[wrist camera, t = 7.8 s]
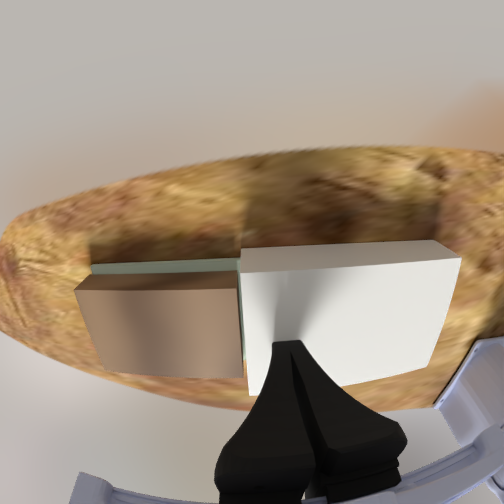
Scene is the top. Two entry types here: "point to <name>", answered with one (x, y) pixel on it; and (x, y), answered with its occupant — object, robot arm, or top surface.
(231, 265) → the mat
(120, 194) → the top surface
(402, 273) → the tray
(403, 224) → the top surface
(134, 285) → the tan cardboard slab
